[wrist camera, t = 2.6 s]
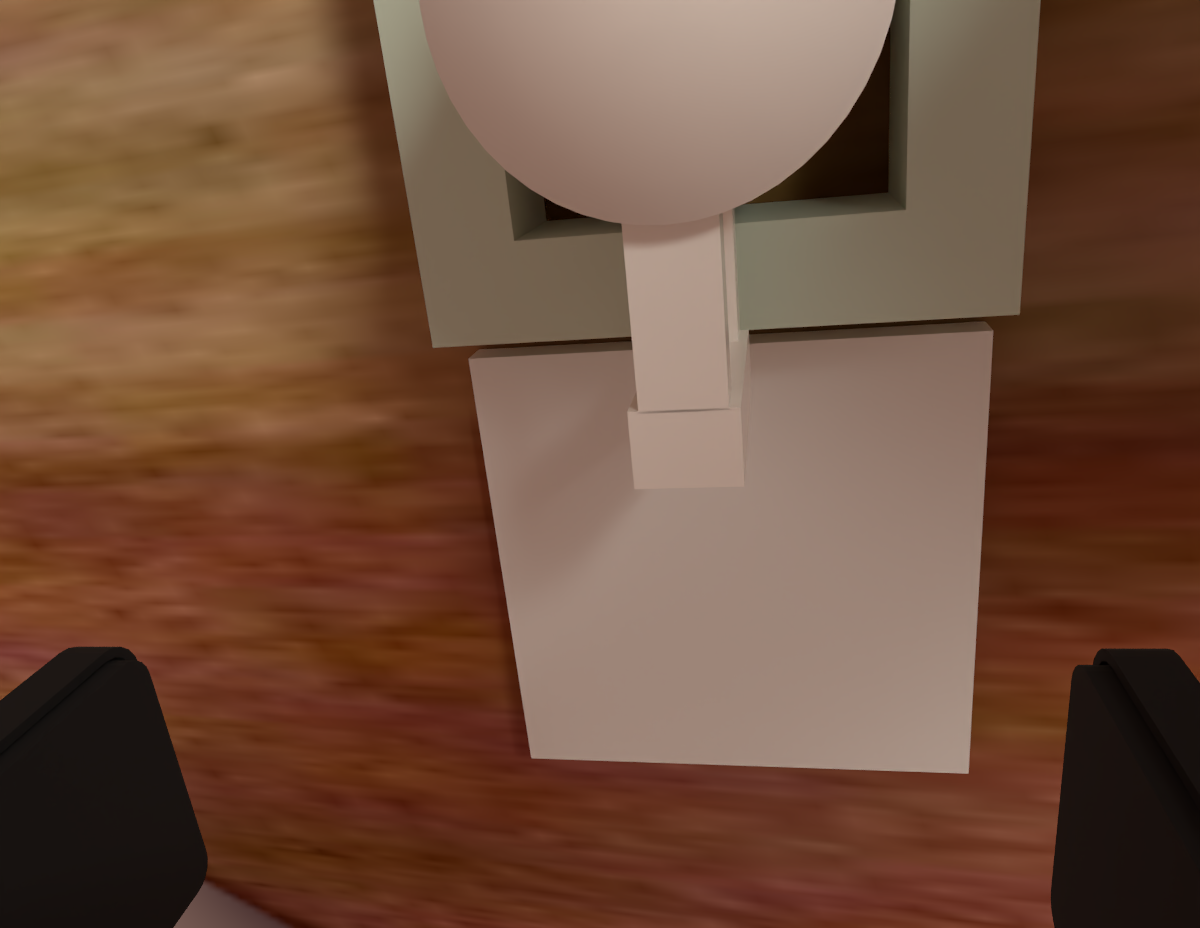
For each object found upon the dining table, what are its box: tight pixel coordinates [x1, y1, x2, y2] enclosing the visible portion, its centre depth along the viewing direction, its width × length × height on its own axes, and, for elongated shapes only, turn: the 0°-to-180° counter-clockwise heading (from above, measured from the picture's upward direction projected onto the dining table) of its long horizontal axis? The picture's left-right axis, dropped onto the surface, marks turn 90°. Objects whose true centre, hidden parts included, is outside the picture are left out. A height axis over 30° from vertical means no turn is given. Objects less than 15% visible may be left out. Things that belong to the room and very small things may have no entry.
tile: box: [468, 321, 993, 774], centre depth 28 cm, size 14×14×1 cm
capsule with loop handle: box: [419, 0, 896, 489], centre depth 19 cm, size 13×7×10 cm, turn 6°
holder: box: [373, 0, 1041, 348], centre depth 21 cm, size 14×14×4 cm
